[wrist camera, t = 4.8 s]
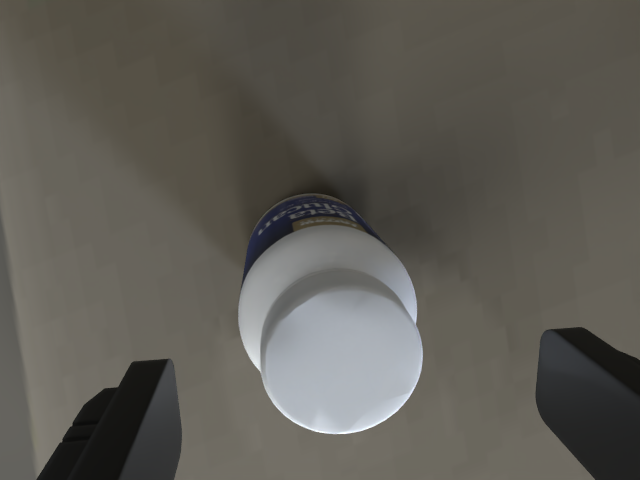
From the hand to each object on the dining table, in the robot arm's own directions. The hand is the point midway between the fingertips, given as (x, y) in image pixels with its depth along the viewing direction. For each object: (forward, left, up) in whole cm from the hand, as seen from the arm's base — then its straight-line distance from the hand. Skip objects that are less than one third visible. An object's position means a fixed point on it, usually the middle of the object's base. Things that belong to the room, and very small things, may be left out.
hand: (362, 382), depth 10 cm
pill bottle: (0, 0, -11) cm, 11 cm away
